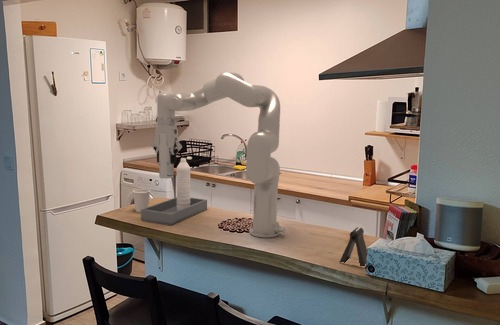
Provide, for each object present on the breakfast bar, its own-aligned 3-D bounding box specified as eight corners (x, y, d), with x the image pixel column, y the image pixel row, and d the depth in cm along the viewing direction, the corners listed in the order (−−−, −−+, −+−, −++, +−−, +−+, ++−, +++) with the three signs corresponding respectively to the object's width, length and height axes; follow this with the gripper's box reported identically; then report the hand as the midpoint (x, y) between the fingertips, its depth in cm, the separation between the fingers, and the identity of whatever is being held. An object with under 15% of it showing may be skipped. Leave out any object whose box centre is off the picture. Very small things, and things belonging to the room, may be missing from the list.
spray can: (169, 179, 191) (169, 133, 188) (156, 177, 192) (155, 132, 189) (176, 176, 197) (176, 132, 194) (163, 175, 199) (162, 131, 196)
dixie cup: (140, 214, 204) (139, 193, 202) (129, 210, 209) (128, 190, 207) (154, 210, 210) (154, 190, 209) (143, 207, 215) (143, 187, 214)
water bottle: (184, 212, 204) (184, 159, 200) (173, 210, 208) (173, 158, 204) (196, 208, 212) (196, 157, 208) (185, 206, 215) (185, 156, 211)
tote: (207, 209, 214) (207, 199, 213) (171, 225, 187) (171, 214, 186) (179, 205, 221) (179, 195, 220) (141, 220, 194) (140, 209, 193)
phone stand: (339, 263, 150) (341, 229, 148) (345, 257, 155) (347, 225, 153) (365, 268, 145) (367, 234, 143) (370, 263, 150) (372, 229, 148)
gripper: (187, 122, 191) (187, 163, 193) (155, 120, 198) (155, 160, 201) (178, 123, 184) (178, 165, 187) (144, 121, 191) (145, 162, 194)
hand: (166, 162), depth 194 cm, fingers closed on spray can, 6 cm apart
